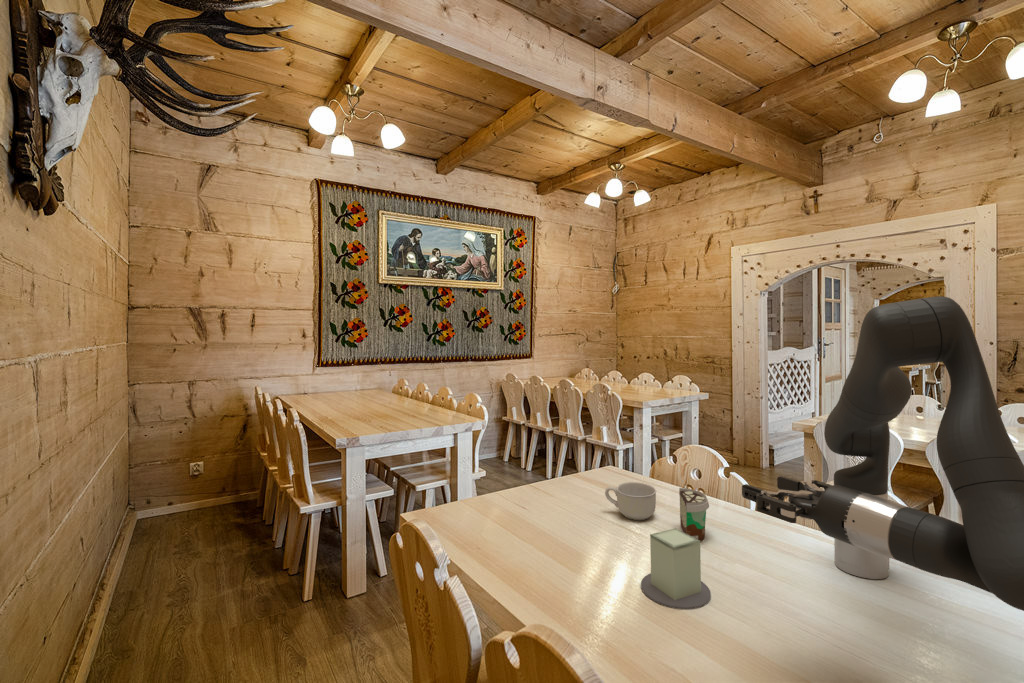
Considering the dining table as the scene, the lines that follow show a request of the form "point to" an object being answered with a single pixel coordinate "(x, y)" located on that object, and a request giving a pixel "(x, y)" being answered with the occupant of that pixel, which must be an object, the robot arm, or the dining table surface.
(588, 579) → the dining table surface
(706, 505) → the food container
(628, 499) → the teacup
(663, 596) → the mat
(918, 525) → the robot arm
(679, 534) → the upright green box
